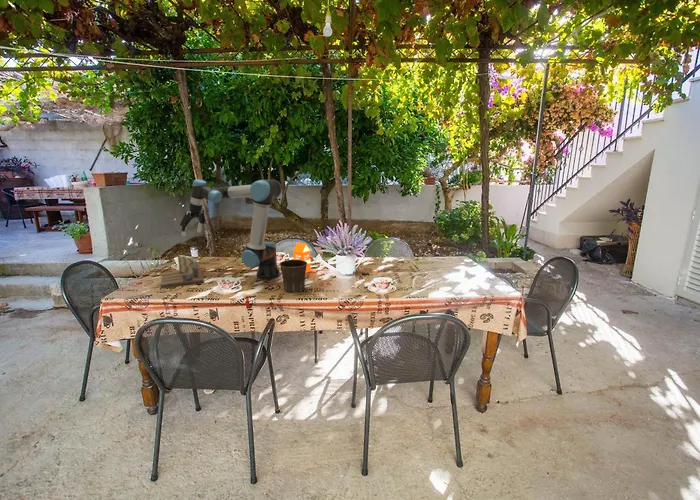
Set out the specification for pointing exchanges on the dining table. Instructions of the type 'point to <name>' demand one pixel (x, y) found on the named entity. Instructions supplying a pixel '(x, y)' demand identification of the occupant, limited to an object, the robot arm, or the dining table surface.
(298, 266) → the plant pot
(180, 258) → the leg panel
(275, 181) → the robot arm
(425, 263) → the dining table surface
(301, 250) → the orange juice
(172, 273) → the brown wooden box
